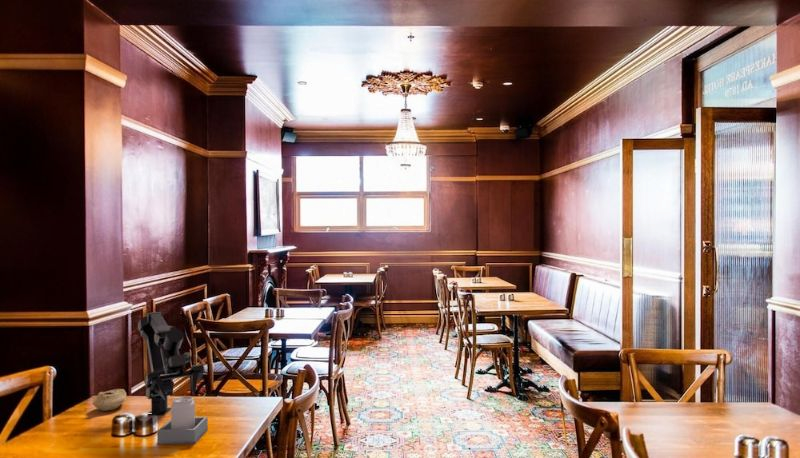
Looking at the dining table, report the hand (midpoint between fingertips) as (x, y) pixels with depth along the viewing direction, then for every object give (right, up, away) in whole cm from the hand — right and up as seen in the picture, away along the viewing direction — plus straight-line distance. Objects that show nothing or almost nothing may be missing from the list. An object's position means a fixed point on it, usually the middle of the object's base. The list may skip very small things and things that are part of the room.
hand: (180, 397), depth 176 cm
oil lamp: (-40, -14, +29) cm, 51 cm away
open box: (+2, -12, -3) cm, 13 cm away
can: (+2, -12, -3) cm, 12 cm away
